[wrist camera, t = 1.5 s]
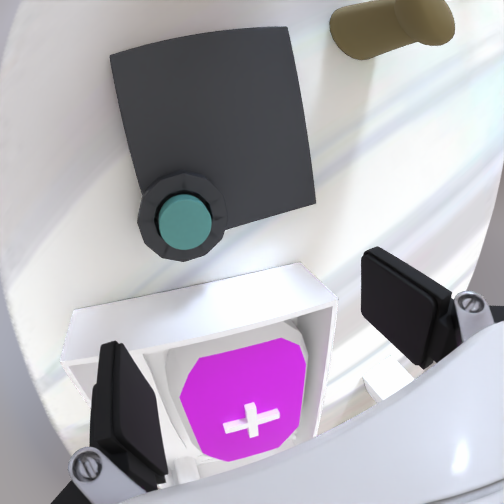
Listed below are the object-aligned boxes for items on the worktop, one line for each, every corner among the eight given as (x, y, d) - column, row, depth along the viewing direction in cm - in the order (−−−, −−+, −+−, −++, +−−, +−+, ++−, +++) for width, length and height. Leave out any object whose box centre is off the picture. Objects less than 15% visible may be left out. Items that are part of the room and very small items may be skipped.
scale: (101, 61, 17) (95, 52, 14) (281, 29, 20) (297, 20, 17) (154, 255, 24) (154, 271, 22) (311, 208, 27) (327, 217, 25)
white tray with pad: (168, 469, 39) (177, 504, 32) (73, 309, 23) (59, 363, 17) (292, 437, 44) (309, 468, 38) (300, 261, 29) (340, 300, 23)
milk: (361, 375, 43) (441, 472, 23) (390, 354, 43) (474, 442, 24) (366, 390, 46) (436, 478, 26) (393, 371, 46) (466, 452, 27)
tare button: (152, 202, 20) (152, 208, 18) (200, 187, 21) (205, 192, 19) (166, 247, 22) (168, 256, 20) (212, 232, 22) (217, 241, 21)
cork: (346, 66, 23) (438, 55, 13) (319, 12, 20) (402, -24, 10) (386, 53, 23) (472, 45, 13) (362, 3, 20) (444, -22, 10)
